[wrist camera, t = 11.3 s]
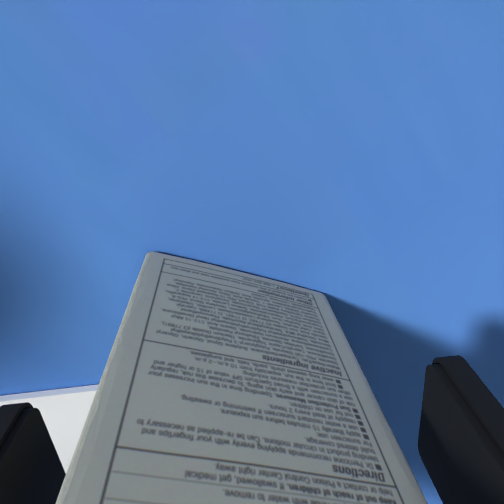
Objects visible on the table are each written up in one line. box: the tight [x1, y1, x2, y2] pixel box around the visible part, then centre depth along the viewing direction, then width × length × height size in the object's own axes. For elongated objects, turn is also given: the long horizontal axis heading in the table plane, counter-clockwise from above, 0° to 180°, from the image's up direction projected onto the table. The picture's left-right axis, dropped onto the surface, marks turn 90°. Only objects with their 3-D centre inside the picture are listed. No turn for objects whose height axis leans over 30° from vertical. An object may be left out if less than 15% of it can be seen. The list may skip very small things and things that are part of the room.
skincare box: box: [56, 252, 428, 504], centre depth 9 cm, size 6×4×12 cm
